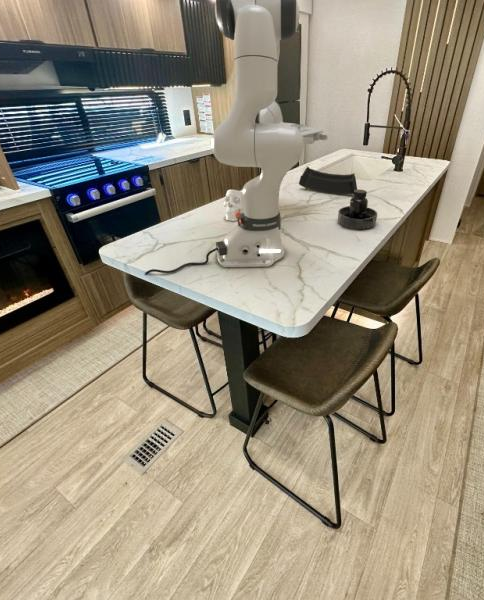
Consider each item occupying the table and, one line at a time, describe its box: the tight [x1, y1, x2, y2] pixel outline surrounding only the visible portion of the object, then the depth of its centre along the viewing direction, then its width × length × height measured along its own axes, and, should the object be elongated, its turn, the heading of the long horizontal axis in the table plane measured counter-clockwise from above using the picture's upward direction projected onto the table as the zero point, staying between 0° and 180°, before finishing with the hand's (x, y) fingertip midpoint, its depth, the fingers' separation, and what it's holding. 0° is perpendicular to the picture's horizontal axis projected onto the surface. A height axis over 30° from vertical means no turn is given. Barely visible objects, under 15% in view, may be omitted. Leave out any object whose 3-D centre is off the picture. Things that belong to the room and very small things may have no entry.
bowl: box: [337, 205, 379, 230], centre depth 130 cm, size 15×15×4 cm
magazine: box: [298, 166, 358, 195], centre depth 161 cm, size 17×3×30 cm
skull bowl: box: [223, 189, 244, 222], centre depth 137 cm, size 10×14×12 cm
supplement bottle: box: [348, 189, 369, 219], centre depth 127 cm, size 7×7×12 cm
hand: (320, 139), depth 121 cm, fingers open, 8 cm apart
